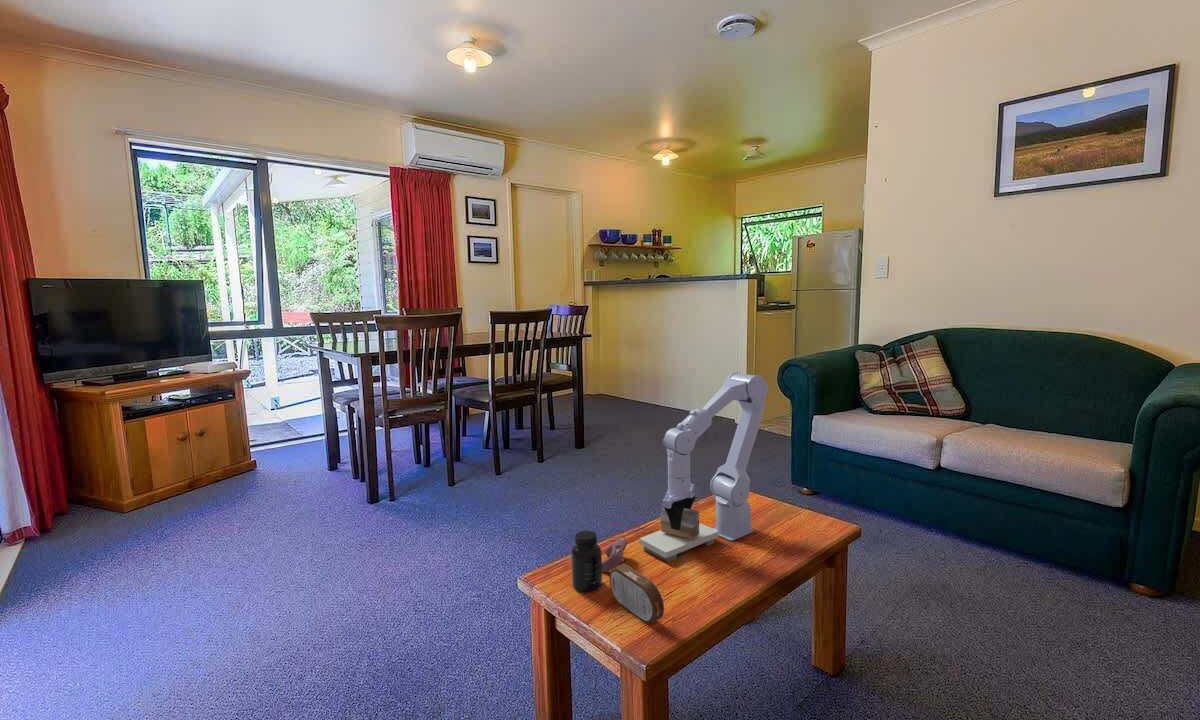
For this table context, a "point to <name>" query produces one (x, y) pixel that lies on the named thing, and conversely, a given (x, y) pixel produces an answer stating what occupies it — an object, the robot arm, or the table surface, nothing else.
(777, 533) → the table surface
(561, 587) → the table surface
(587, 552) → the supplement bottle
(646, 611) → the tin
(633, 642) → the table surface
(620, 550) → the video game controller
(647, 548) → the stand
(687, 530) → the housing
